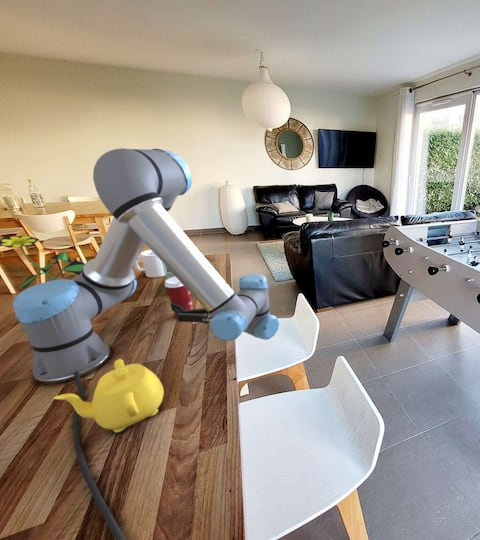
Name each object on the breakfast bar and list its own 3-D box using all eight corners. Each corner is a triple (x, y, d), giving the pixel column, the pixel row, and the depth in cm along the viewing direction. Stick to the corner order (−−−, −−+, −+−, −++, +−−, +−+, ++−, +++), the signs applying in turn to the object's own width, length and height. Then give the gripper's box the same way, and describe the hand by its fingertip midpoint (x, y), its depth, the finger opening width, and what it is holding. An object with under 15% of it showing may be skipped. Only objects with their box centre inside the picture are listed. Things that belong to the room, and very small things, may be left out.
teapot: (122, 388, 72) (109, 350, 68) (180, 389, 73) (170, 352, 68) (72, 439, 59) (51, 396, 55) (142, 440, 60) (127, 398, 55)
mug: (134, 279, 130) (128, 257, 126) (140, 270, 139) (135, 250, 135) (169, 275, 135) (164, 254, 131) (173, 268, 144) (168, 248, 140)
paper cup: (200, 312, 107) (193, 278, 101) (179, 322, 100) (170, 286, 95) (188, 306, 110) (181, 273, 105) (167, 315, 104) (159, 280, 99)
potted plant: (30, 339, 88) (-14, 247, 77) (40, 313, 101) (3, 231, 90) (105, 321, 99) (77, 237, 87) (105, 300, 112) (80, 225, 101)
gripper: (201, 345, 82) (157, 324, 91) (264, 308, 103) (223, 294, 111) (197, 323, 79) (151, 303, 88) (263, 289, 100) (221, 276, 109)
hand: (191, 298), depth 100 cm, fingers open, 13 cm apart
